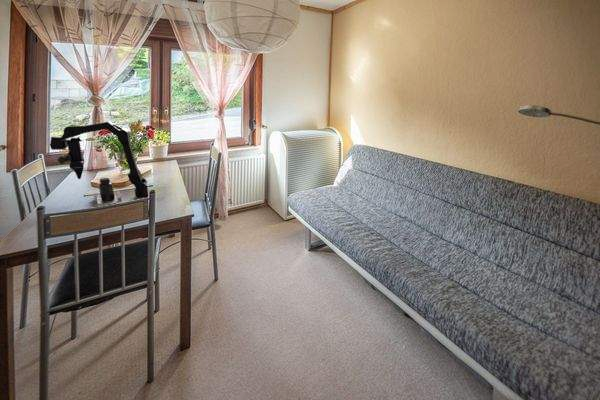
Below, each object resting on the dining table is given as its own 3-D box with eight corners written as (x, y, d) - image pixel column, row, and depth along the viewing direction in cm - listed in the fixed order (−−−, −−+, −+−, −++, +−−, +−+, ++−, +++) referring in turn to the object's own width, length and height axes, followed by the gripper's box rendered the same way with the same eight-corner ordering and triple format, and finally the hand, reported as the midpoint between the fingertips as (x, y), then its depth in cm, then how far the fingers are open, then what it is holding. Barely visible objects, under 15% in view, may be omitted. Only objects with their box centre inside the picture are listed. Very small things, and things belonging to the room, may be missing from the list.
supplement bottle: (111, 196, 197) (108, 176, 193) (117, 199, 193) (114, 178, 189) (98, 199, 191) (95, 178, 188) (104, 202, 187) (101, 181, 184)
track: (120, 196, 201) (119, 190, 200) (121, 203, 189) (121, 197, 188) (94, 199, 195) (93, 193, 194) (94, 206, 183) (93, 200, 182)
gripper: (58, 147, 189) (63, 174, 194) (55, 153, 174) (61, 182, 179) (81, 146, 195) (86, 173, 199) (80, 151, 179) (85, 180, 184)
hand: (79, 177), depth 190 cm, fingers open, 9 cm apart
